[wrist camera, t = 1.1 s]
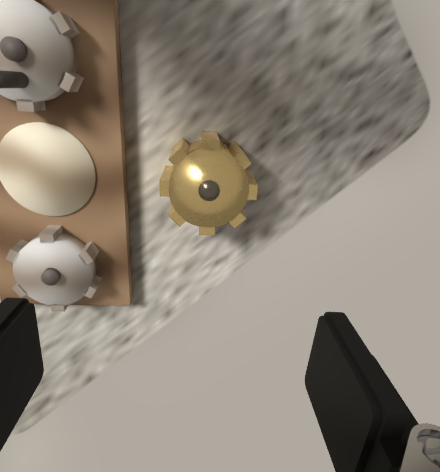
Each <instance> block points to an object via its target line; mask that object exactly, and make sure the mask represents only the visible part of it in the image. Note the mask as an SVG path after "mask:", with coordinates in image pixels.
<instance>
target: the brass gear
mask: <svg viewBox="0 0 440 472" xmlns="http://www.w3.org/2000/svg"><path fill="white" fill-rule="evenodd" d="M169 161H170V162H171V163H172V164H173V165H174V166H165V168H164V171H163V173H162V176H161V178H160V196H167V197H170V200H171V207H170V212H169V217H170V218H171V219H172V220H173V221H174V222H175V223H176V224H177V225H178V226H179V227H180V226H181V225H182V224H183V223H184V222H185V221H187V222H189V223H191V224H193V225H196V226H199V235H214V233H215V227H218V226H222V225H224V224H227V223H228V222H229V223H230V224H231V225H232V226H233V227H234V229H235V228H236V227H237V226H238V225H239V224H241V223H242V222H243V221H244V220H245V219H246V217H245V214H244V212H243V208H244V206H245V204H246V202H247V200H257V191H258V184H257V182H256V181H255V179H254V177H253V176H252V174H251V172H250V171H249V170H246V168H247V167H248V166H250V165H251V164H252V163H251V162H250V160H249V159H248V158H247V156H246V155H245V153H244V152H243V151H242V149H241V148H240V147H239V146H238V145H237V144H236V142H235V141H233V142H232V143H231V144H230V145H229V146H227V145H225V144H223V143H221V142H220V139H219V137H218V134H217V132H210V131H202V140H199V141H195V142H193V143H191V144H188V143H187V141H186V140H185V139H184V138H183V139H182V140H181V141H180V142H179V143H178V144H176V145H175V146H174V147H173V149H172V152H171V154H170V157H169Z"/></svg>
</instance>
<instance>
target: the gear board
mask: <svg viewBox="0 0 440 472" xmlns="http://www.w3.org/2000/svg"><path fill="white" fill-rule="evenodd" d="M8 297H10V298H26V299H28V300H29V303H33V304H47V305H51V309H52V311H65V310H66V308H67V306H68V305H127V306H130V304H131V301H132V298H133V291H132V271H131V251H130V232H129V212H128V192H127V172H126V152H125V132H124V113H123V93H122V73H121V53H120V33H119V13H118V0H0V299H1V302H2V301H3V300H4V299H5V298H8Z"/></svg>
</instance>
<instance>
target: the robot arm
mask: <svg viewBox="0 0 440 472" xmlns="http://www.w3.org/2000/svg"><path fill="white" fill-rule="evenodd" d="M43 370H44V368H43V361H42V354H41V347H40V340H39V333H38V326H37V319H36V313H35V307H34V304H33V303H29V300H28V299H26V298H10V297H8V298H5V299H4V300H3V301H2V302H1V303H0V451H1V449H2V448H3V446H4V444H5V442H6V441H7V439H8V437H9V435H10V434H11V432H12V430H13V428H14V427H15V425H16V423H17V421H18V420H19V418H20V416H21V414H22V413H23V411H24V409H25V407H26V406H27V404H28V402H29V400H30V399H31V397H32V395H33V393H34V392H35V390H36V388H37V386H38V385H39V383H40V381H41V379H42V376H43ZM305 386H306V389H307V392H308V395H309V398H310V401H311V403H312V406H313V409H314V412H315V415H316V417H317V420H318V423H319V426H320V429H321V432H322V434H323V437H324V440H325V443H326V446H327V449H328V451H329V454H330V457H331V460H332V462H333V466H334V468H335V471H336V472H440V427H438V426H436V425H431V424H418V423H417V421H416V419H415V418H414V416H413V415H412V413H411V412H410V410H409V409H408V407H407V406H406V404H405V403H404V401H403V400H402V398H401V397H400V395H399V394H398V392H397V391H396V389H395V388H394V386H393V384H392V383H391V381H390V380H389V378H388V377H387V375H386V374H385V373H384V371H383V369H382V368H381V366H380V365H379V363H378V362H377V360H376V359H375V358H374V356H373V355H371V353H370V352H369V350H368V349H367V347H366V345H365V344H364V343H363V341H362V339H361V338H360V336H359V335H358V333H357V332H356V330H355V329H354V327H353V326H352V324H351V323H350V321H349V319H348V318H347V316H346V315H345V314H344V313H342V312H326V313H325V314H324V316H320V317H319V320H318V324H317V328H316V332H315V337H314V341H313V345H312V349H311V354H310V358H309V362H308V366H307V371H306V375H305Z"/></svg>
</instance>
